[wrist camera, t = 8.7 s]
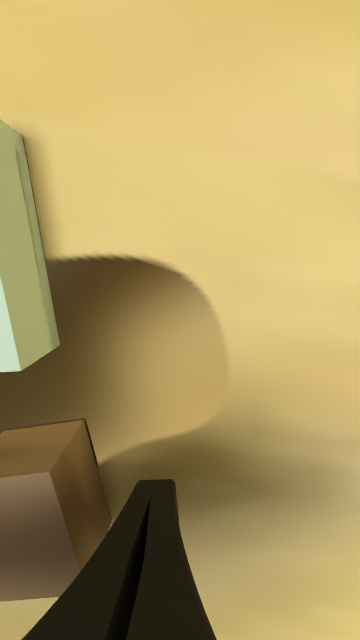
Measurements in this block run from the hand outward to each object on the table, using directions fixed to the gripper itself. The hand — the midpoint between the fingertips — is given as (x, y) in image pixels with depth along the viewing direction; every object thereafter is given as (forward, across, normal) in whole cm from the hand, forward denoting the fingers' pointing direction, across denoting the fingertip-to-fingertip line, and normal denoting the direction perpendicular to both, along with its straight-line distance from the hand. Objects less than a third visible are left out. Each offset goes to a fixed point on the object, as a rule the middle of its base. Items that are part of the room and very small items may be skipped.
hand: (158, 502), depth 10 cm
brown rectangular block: (+2, +4, 0) cm, 5 cm away
